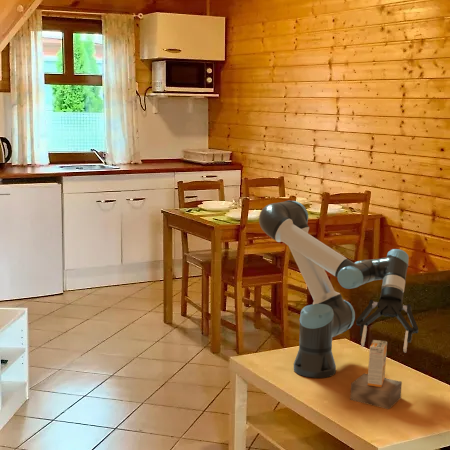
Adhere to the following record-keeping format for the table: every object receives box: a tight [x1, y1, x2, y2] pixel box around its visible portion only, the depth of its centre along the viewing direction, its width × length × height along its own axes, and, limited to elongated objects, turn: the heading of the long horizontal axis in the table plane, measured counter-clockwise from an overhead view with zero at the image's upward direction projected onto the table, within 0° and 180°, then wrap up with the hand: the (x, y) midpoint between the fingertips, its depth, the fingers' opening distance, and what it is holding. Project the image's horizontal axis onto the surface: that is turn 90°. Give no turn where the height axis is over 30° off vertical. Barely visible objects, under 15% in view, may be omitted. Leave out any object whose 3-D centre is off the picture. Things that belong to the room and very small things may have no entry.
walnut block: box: [350, 373, 403, 410], centre depth 232 cm, size 13×11×6 cm
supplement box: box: [367, 339, 388, 387], centre depth 230 cm, size 8×5×13 cm, turn 161°
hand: (383, 347), depth 231 cm, fingers open, 13 cm apart
